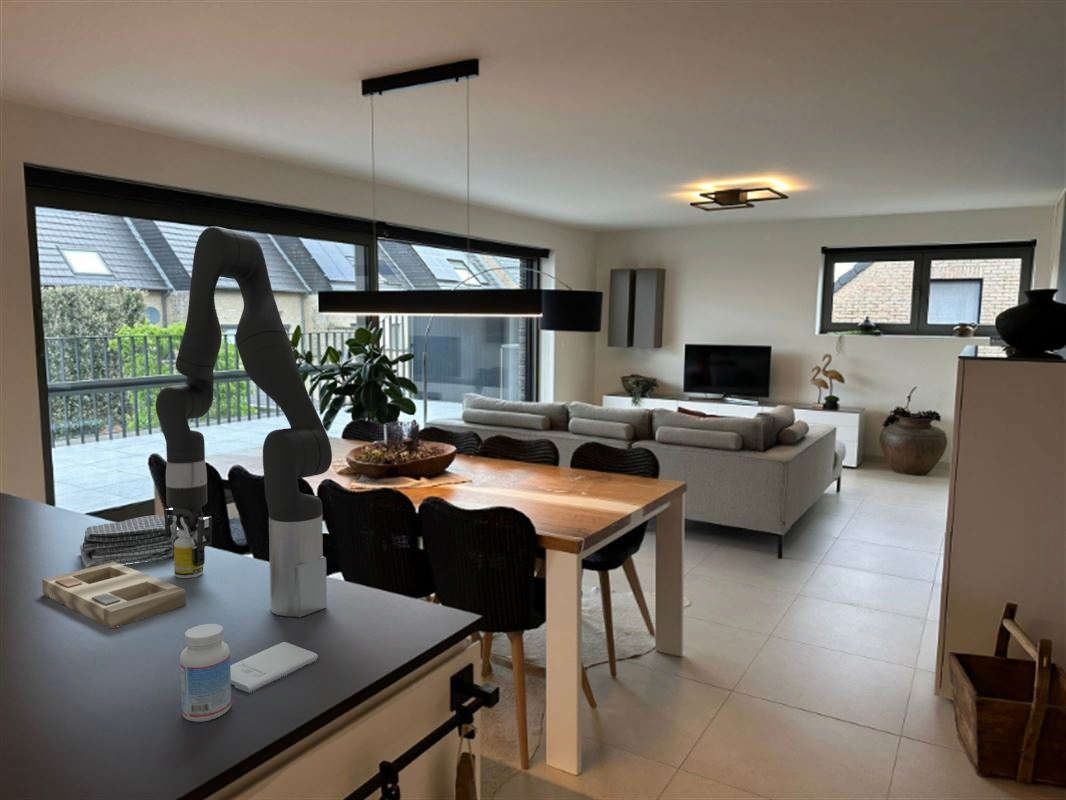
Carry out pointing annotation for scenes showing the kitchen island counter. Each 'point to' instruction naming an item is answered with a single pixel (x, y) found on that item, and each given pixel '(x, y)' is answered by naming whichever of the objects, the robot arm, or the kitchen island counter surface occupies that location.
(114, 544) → the towel
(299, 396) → the robot arm
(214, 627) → the pill bottle
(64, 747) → the kitchen island counter surface
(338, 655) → the kitchen island counter surface
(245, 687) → the external hard drive
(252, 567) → the kitchen island counter surface
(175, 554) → the supplement bottle
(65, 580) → the socket holder
